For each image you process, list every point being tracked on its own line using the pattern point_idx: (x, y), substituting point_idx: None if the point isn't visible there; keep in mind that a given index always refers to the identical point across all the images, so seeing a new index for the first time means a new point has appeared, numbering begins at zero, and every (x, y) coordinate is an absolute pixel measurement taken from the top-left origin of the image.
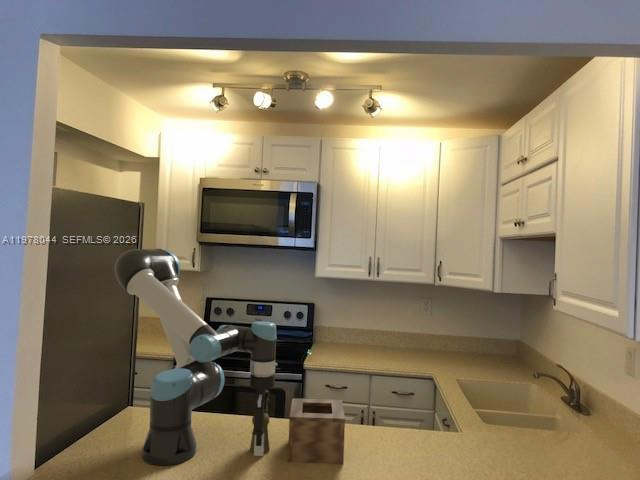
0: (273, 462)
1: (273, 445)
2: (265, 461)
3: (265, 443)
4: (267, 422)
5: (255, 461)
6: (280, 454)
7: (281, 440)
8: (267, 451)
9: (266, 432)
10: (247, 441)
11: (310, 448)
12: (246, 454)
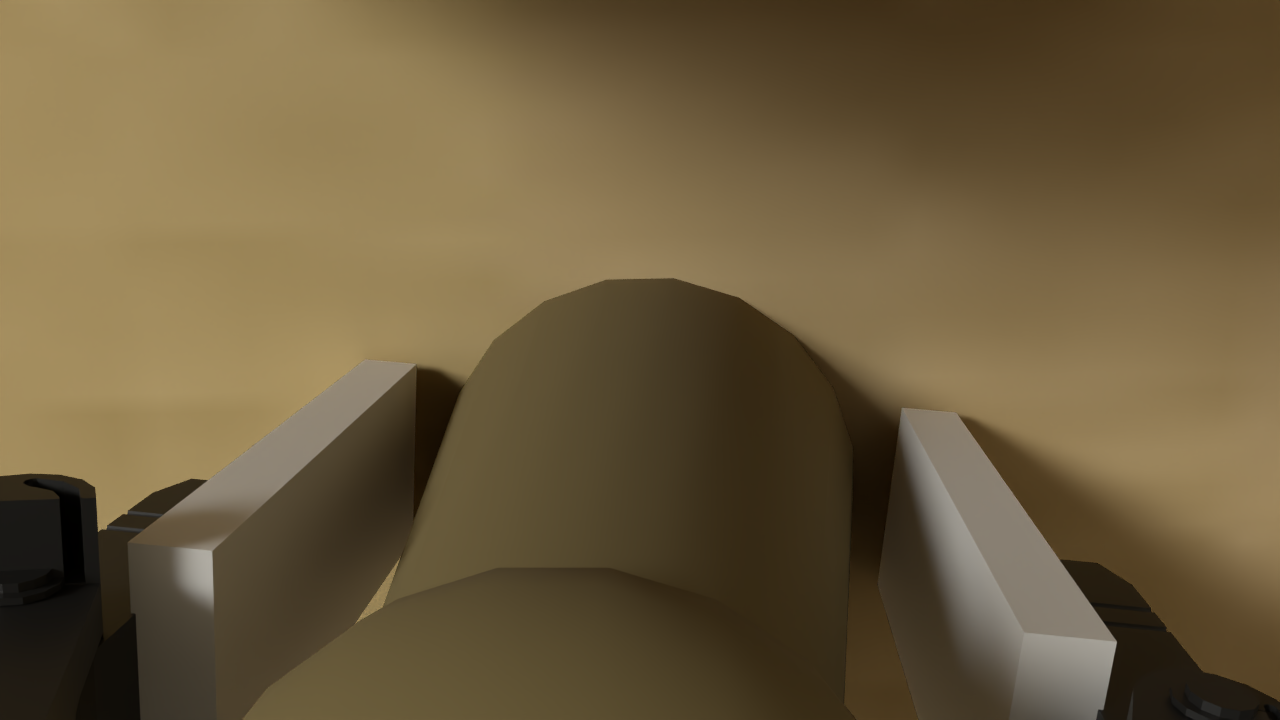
0: (1224, 184)
1: (406, 197)
2: (1157, 353)
3: (798, 431)
4: (784, 669)
5: (1133, 546)
6: (852, 31)
7: (138, 15)
8: (767, 327)
9: (736, 511)
10: None
11: None
12: None
